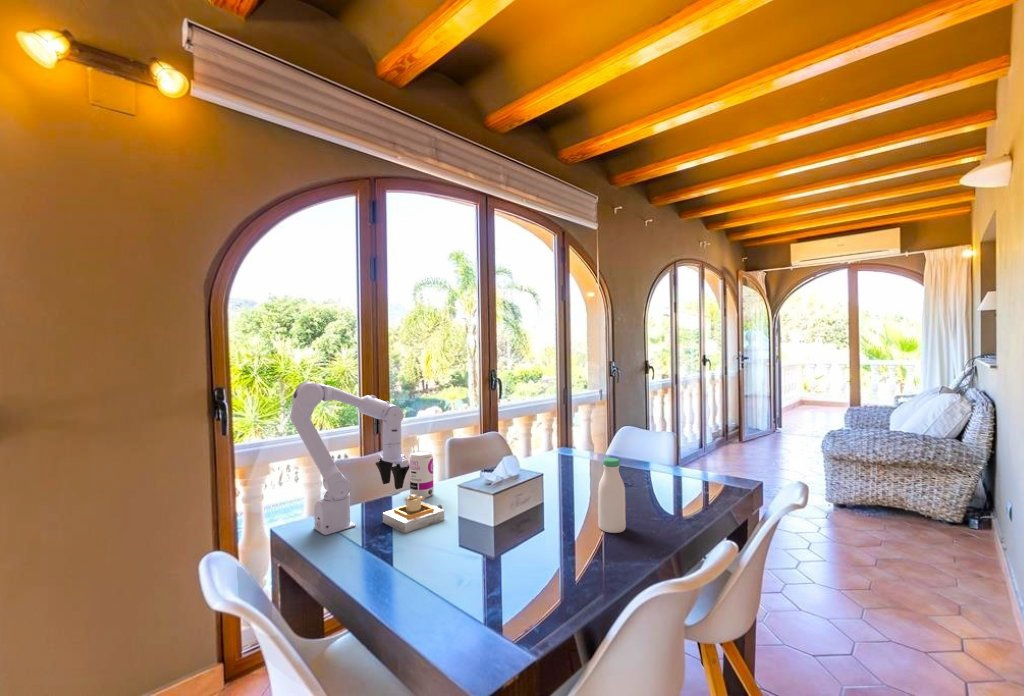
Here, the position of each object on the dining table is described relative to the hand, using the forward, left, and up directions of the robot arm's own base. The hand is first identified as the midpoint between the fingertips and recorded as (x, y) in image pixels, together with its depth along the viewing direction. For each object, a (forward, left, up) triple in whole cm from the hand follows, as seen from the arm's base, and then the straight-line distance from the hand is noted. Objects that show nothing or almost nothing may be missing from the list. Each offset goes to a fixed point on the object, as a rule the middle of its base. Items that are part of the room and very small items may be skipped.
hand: (392, 485), depth 146 cm
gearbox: (+3, -9, -9) cm, 13 cm away
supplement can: (+18, +10, -10) cm, 23 cm away
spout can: (+2, -9, -9) cm, 13 cm away
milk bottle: (+38, -56, -10) cm, 68 cm away
